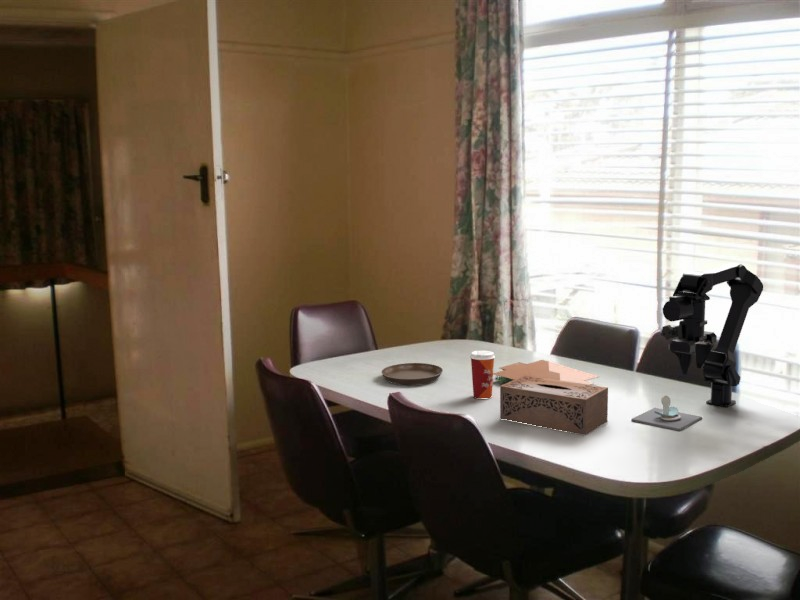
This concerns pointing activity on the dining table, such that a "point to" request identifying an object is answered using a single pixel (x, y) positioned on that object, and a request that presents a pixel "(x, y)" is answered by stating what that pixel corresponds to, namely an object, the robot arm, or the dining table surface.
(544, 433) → the dining table surface
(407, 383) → the plant saucer
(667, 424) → the mat
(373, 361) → the dining table surface
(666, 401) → the pacifier
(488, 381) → the paper cup
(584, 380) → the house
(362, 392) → the dining table surface
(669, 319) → the robot arm
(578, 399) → the tissue box cover
